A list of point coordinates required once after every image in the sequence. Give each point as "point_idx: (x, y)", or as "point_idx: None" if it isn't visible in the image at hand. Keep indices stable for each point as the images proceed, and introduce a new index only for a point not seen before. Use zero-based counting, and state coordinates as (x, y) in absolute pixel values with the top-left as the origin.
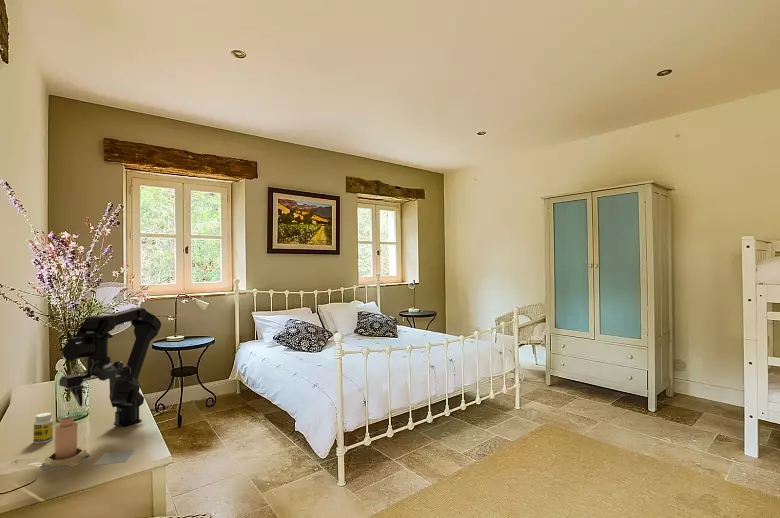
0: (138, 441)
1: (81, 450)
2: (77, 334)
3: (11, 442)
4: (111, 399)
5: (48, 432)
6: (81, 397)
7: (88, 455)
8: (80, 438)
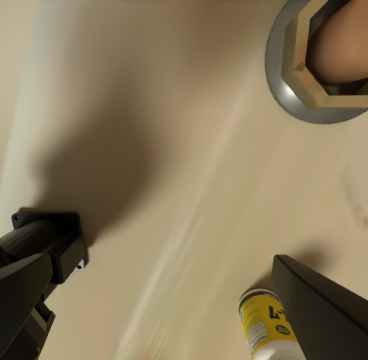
0: (104, 15)
1: (307, 29)
2: None
3: None
4: (39, 334)
5: (265, 310)
6: (345, 303)
7: (277, 26)
8: (198, 234)
